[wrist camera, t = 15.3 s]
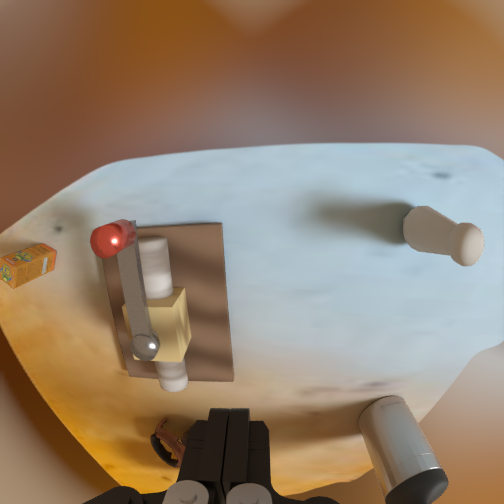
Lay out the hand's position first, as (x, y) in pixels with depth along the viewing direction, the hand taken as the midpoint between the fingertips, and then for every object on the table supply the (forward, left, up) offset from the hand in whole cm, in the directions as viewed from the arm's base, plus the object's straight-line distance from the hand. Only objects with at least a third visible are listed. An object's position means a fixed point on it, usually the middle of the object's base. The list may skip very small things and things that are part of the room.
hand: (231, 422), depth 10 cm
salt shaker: (+3, -22, -27) cm, 35 cm away
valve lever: (-1, +11, -18) cm, 21 cm away
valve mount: (-7, +11, -27) cm, 30 cm away
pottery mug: (-31, +12, -27) cm, 43 cm away
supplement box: (+1, +30, -27) cm, 41 cm away
